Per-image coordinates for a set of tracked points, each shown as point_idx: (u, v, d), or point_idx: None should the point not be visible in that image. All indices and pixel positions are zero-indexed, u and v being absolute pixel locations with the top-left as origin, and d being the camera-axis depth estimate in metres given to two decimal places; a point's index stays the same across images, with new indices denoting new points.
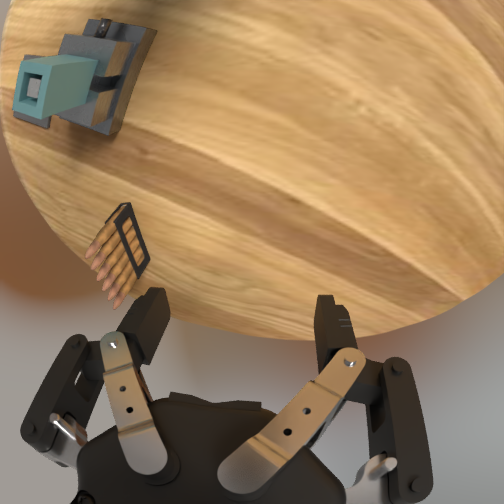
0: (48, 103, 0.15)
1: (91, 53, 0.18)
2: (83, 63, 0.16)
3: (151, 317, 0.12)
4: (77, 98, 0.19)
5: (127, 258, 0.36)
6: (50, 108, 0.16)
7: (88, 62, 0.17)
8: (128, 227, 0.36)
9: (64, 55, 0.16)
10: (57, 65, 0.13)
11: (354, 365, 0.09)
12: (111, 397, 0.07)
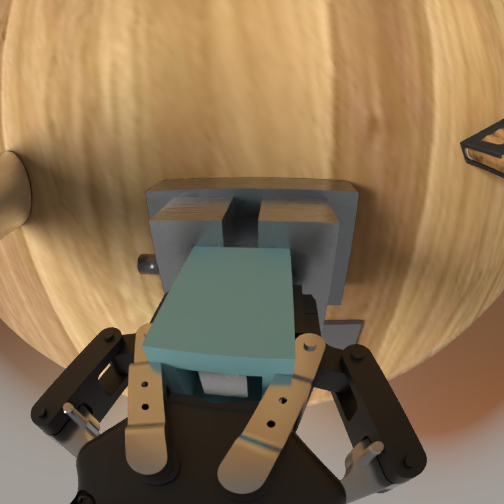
0: (251, 341, 0.08)
1: None
2: (184, 271, 0.12)
3: None
4: (271, 265, 0.12)
5: None
6: (271, 332, 0.09)
7: (188, 262, 0.13)
8: (497, 138, 0.13)
9: None
10: (151, 331, 0.09)
11: (312, 349, 0.09)
12: (131, 390, 0.07)
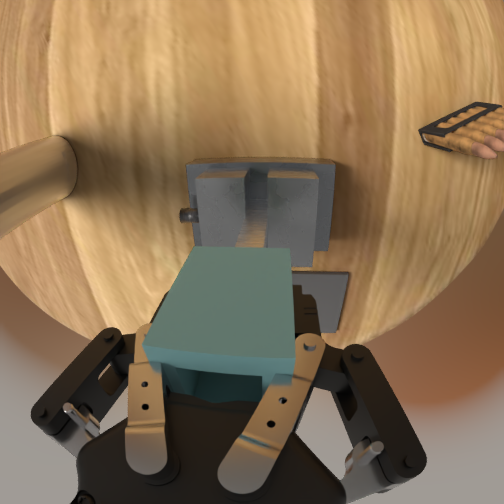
0: (251, 340, 0.08)
1: (218, 210, 0.22)
2: (184, 271, 0.12)
3: None
4: (271, 265, 0.12)
5: (482, 117, 0.16)
6: (271, 331, 0.09)
7: (188, 262, 0.13)
8: (447, 123, 0.20)
9: None
10: (151, 330, 0.09)
11: (313, 350, 0.09)
12: (131, 390, 0.07)
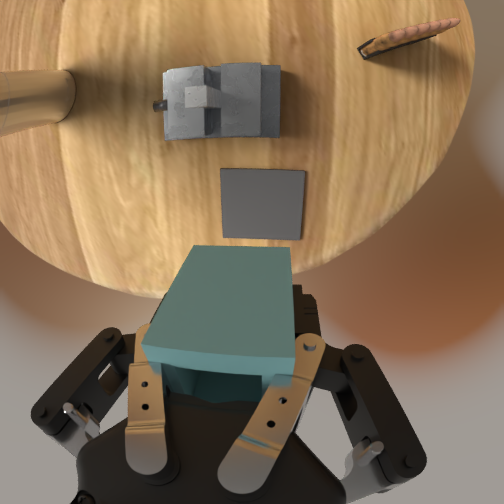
0: (251, 340, 0.08)
1: (183, 91, 0.24)
2: (183, 270, 0.12)
3: None
4: (271, 264, 0.12)
5: None
6: (270, 331, 0.09)
7: (187, 261, 0.13)
8: None
9: None
10: (150, 330, 0.09)
11: (312, 350, 0.09)
12: (131, 390, 0.07)
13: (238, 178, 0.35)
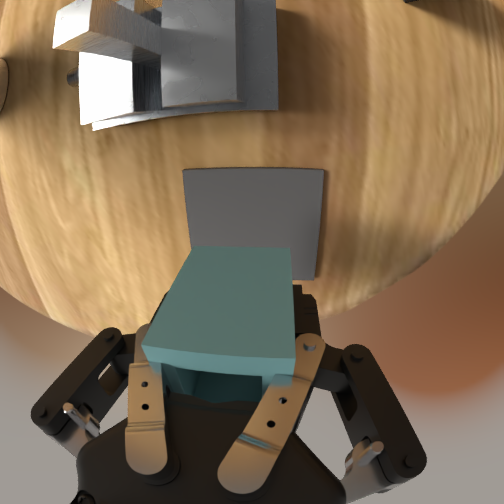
0: (251, 340, 0.08)
1: None
2: (184, 270, 0.12)
3: None
4: (271, 264, 0.12)
5: None
6: (271, 331, 0.09)
7: (188, 261, 0.13)
8: None
9: None
10: (150, 330, 0.09)
11: (312, 349, 0.09)
12: (131, 390, 0.07)
13: (213, 183, 0.21)
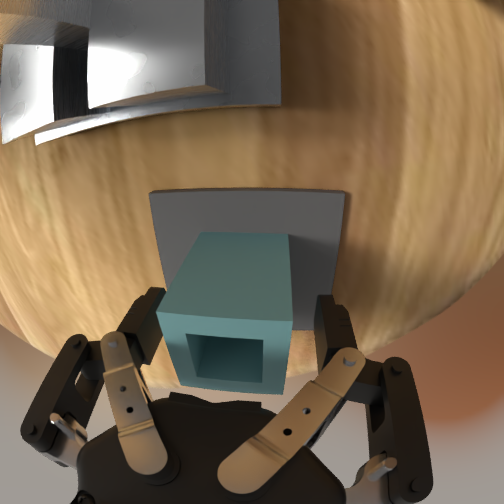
0: (254, 306, 0.10)
1: None
2: (192, 252, 0.13)
3: (151, 317, 0.12)
4: (271, 247, 0.14)
5: None
6: (271, 300, 0.10)
7: (196, 244, 0.14)
8: None
9: None
10: (164, 300, 0.10)
11: (354, 365, 0.09)
12: (111, 397, 0.07)
13: (189, 211, 0.15)
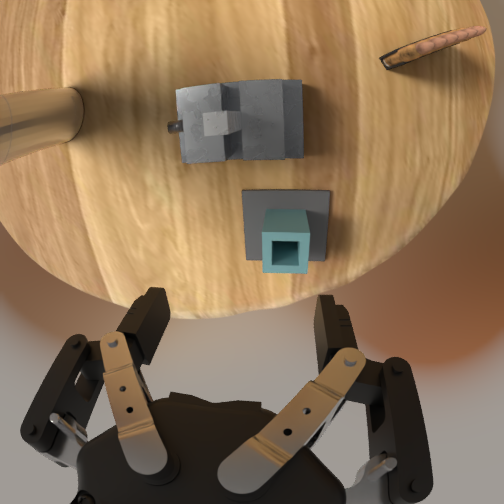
0: (296, 229, 0.28)
1: (199, 111, 0.23)
2: (266, 215, 0.32)
3: (150, 317, 0.12)
4: (299, 214, 0.32)
5: (432, 36, 0.16)
6: (302, 228, 0.29)
7: (266, 213, 0.33)
8: None
9: None
10: (263, 229, 0.29)
11: (354, 365, 0.09)
12: (111, 397, 0.07)
13: (261, 199, 0.34)
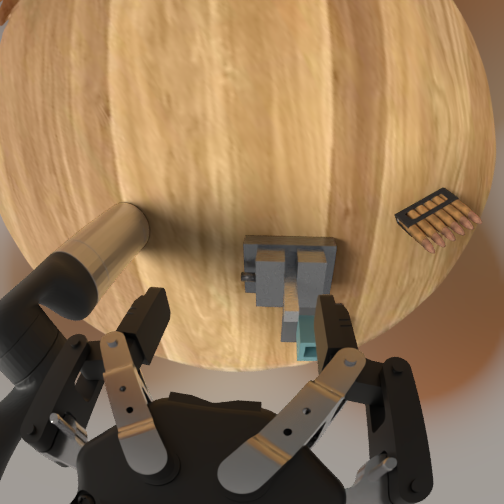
0: None
1: (268, 278, 0.38)
2: (300, 324, 0.47)
3: (150, 317, 0.12)
4: None
5: (439, 211, 0.32)
6: None
7: (299, 321, 0.48)
8: (414, 213, 0.36)
9: (296, 335, 0.51)
10: (300, 339, 0.44)
11: (354, 365, 0.09)
12: (111, 397, 0.07)
13: None
